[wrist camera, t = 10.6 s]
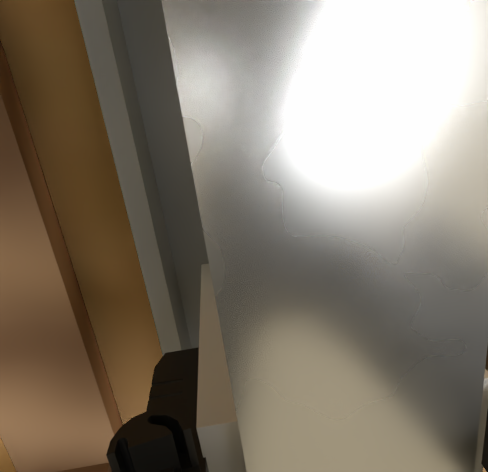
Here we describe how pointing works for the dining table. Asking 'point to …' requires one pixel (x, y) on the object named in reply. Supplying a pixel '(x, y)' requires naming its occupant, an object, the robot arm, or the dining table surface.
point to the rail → (343, 222)
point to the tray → (150, 157)
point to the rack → (43, 322)
